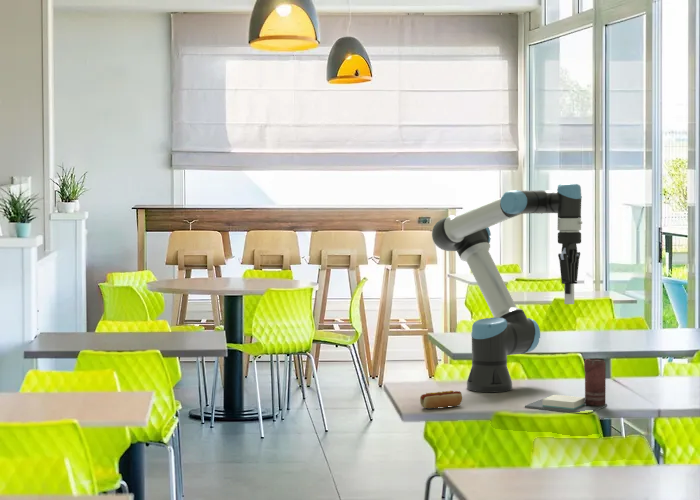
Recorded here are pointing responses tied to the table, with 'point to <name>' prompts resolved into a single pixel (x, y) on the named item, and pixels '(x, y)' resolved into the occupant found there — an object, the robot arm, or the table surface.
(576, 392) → the table surface
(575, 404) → the tile
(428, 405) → the food
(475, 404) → the table surface
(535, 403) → the mat
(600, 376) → the can
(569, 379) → the table surface
